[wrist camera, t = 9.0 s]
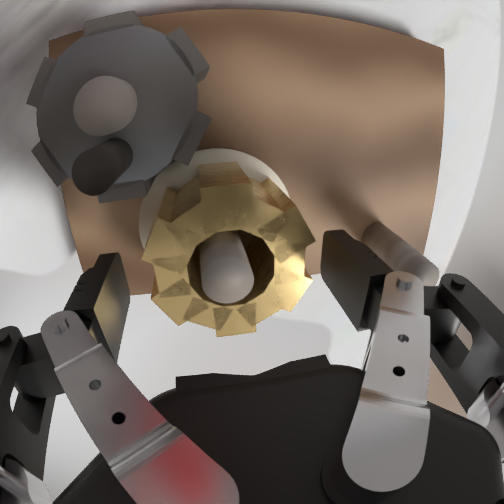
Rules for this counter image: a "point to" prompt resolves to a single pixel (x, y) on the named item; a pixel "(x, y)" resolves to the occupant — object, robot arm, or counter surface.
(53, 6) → the counter surface
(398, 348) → the robot arm
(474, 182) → the counter surface
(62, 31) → the counter surface
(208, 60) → the gear board
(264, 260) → the brass gear
